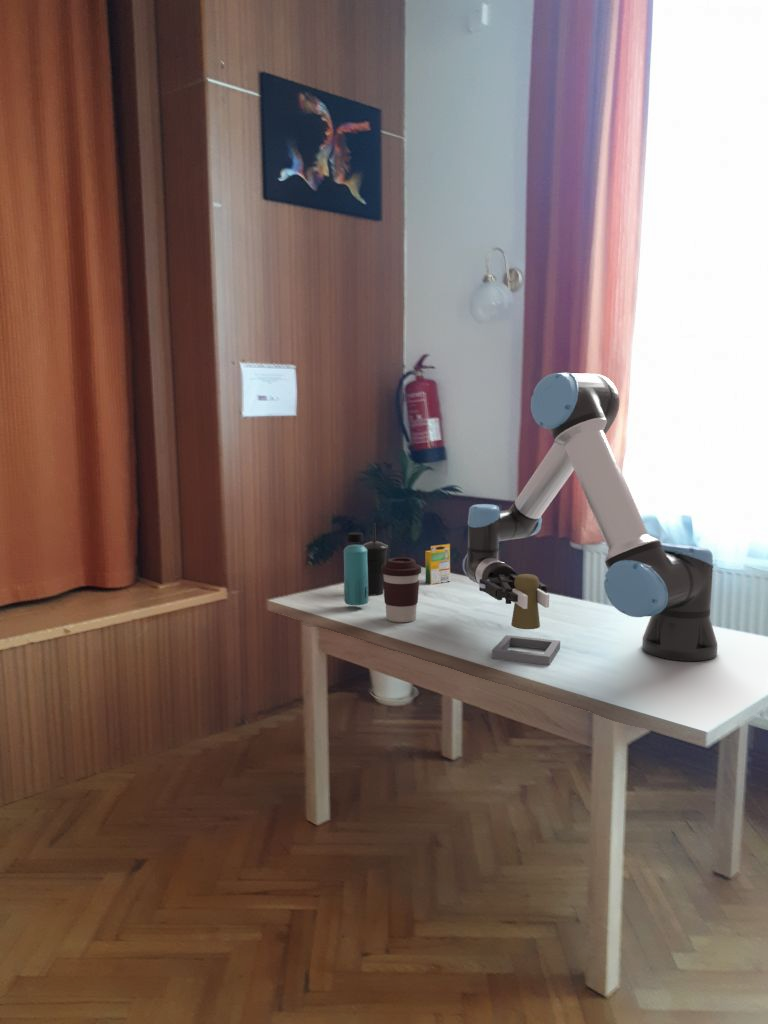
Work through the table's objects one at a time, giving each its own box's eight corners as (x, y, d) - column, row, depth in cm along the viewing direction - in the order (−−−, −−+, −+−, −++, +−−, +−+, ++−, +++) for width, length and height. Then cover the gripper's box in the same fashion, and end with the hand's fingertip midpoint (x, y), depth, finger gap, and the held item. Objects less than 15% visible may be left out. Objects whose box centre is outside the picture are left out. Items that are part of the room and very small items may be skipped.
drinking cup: (389, 590, 230) (389, 521, 227) (386, 596, 222) (386, 525, 219) (363, 589, 230) (362, 521, 228) (359, 596, 223) (358, 525, 220)
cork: (545, 627, 169) (547, 576, 167) (522, 630, 166) (523, 579, 165) (528, 620, 174) (530, 570, 173) (505, 623, 172) (506, 573, 170)
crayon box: (444, 580, 243) (444, 542, 242) (450, 581, 241) (450, 543, 239) (424, 582, 239) (424, 544, 238) (430, 584, 237) (430, 546, 235)
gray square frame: (560, 648, 174) (560, 640, 174) (549, 665, 163) (549, 656, 163) (505, 642, 178) (506, 635, 178) (491, 658, 167) (492, 650, 167)
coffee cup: (380, 624, 194) (380, 563, 192) (381, 614, 204) (381, 556, 202) (421, 624, 194) (422, 563, 192) (420, 614, 204) (420, 556, 202)
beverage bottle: (368, 611, 207) (367, 534, 204) (342, 611, 207) (341, 534, 204) (369, 604, 213) (368, 530, 210) (344, 604, 213) (343, 530, 211)
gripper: (530, 591, 189) (574, 617, 166) (461, 594, 185) (496, 621, 163) (531, 559, 188) (575, 581, 165) (461, 563, 184) (497, 585, 162)
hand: (536, 601), depth 164 cm, fingers closed on cork, 4 cm apart
